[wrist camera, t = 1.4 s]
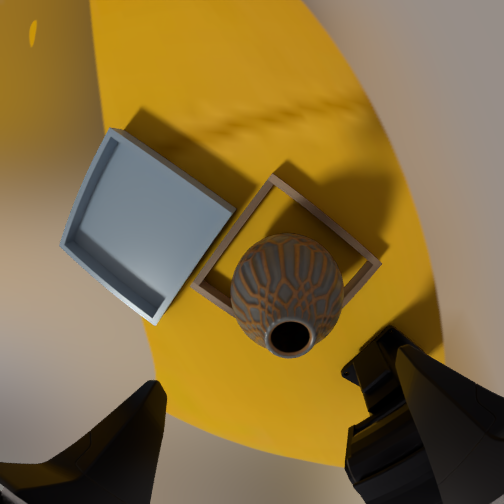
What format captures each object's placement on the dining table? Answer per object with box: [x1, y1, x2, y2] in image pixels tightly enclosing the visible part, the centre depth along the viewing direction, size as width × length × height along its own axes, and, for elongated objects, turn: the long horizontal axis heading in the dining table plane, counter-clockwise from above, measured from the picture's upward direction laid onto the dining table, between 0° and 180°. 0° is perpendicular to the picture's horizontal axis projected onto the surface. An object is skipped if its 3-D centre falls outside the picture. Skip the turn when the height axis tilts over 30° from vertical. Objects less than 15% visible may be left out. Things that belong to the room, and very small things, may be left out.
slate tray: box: [60, 128, 236, 326], centre depth 19 cm, size 11×11×2 cm
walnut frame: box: [190, 173, 382, 318], centre depth 20 cm, size 10×10×1 cm
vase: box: [231, 233, 344, 358], centre depth 16 cm, size 7×7×9 cm
